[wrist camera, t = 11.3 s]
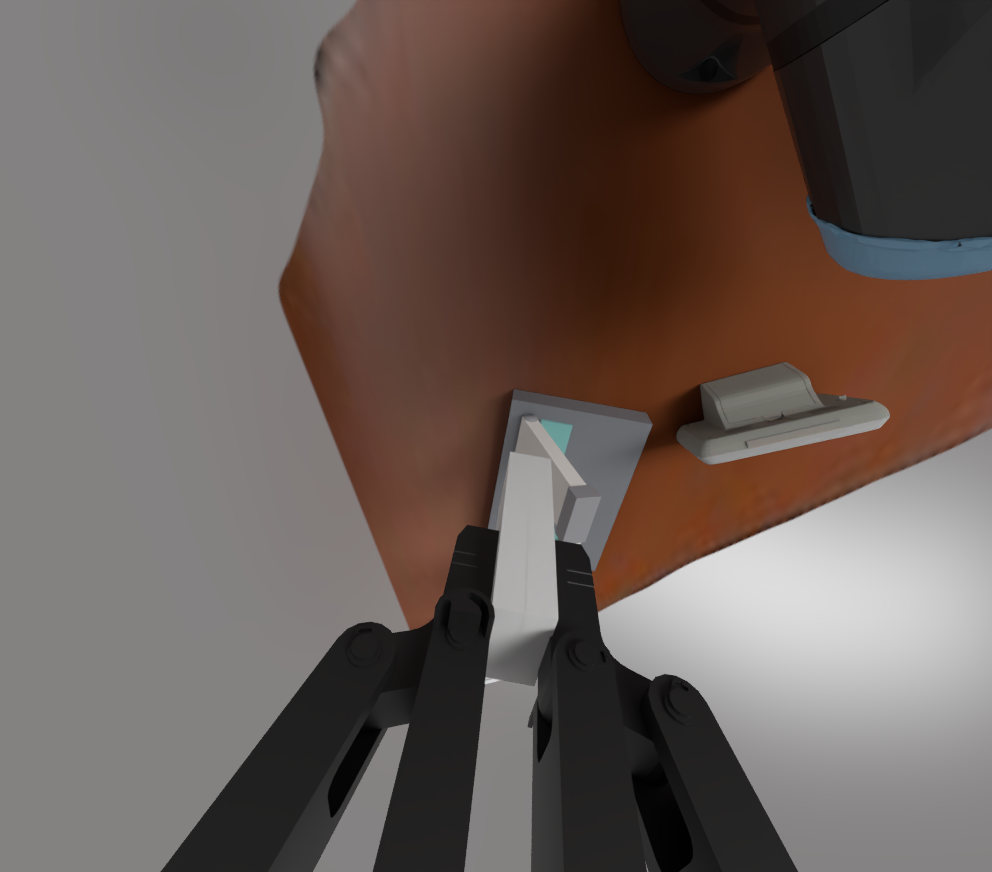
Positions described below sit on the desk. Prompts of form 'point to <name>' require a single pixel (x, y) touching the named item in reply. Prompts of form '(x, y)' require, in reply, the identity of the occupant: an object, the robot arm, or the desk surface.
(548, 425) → the switch unit
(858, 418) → the digital clock
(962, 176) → the robot arm
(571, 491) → the lever
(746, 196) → the desk surface
